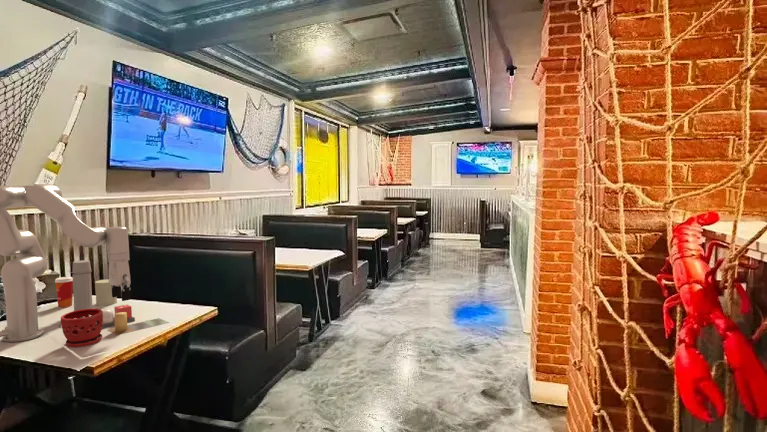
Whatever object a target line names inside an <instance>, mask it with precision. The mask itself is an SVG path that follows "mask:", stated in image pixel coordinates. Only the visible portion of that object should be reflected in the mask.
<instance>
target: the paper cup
mask: <svg viewBox="0 0 767 432" xmlns="http://www.w3.org/2000/svg"><path fill="white" fill-rule="evenodd" d="M54 283H55V291H56V299H57V306H58V308H69V307H71V306H73V298H74V297H73V276H62V277H57V278H55V280H54Z"/></svg>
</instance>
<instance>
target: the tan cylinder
mask: <svg viewBox="0 0 767 432" xmlns="http://www.w3.org/2000/svg"><path fill="white" fill-rule="evenodd" d="M113 315H114V321H115V325H114V328H115V332H123V331H126V330H127V325H128V323H127V313H126V312H120V313H116V314H115V313H113Z"/></svg>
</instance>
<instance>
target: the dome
mask: <svg viewBox="0 0 767 432" xmlns="http://www.w3.org/2000/svg"><path fill="white" fill-rule="evenodd" d="M102 313H103V324H106V323H111V322H114V312H113V311H112V310H110V309H106V308H105V309H103V310H102Z"/></svg>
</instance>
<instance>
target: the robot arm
mask: <svg viewBox="0 0 767 432" xmlns="http://www.w3.org/2000/svg"><path fill="white" fill-rule="evenodd" d="M20 207H35V208H36V209H38V210H39V211H40V212H42V213H43V214H45V215H46V216H47V217H49V218H50V219H52V220H53V221H54V222H55V223H57V225H58V227H59V229H60V230H61V231H62V232H63V233H64V234H65V236H67V237H68V238H70V239H71V240H72V241H74V242H75V243H76V244H79V245H80V246H82V247H84V248H95V247H98V246H102V245H106V247H107V251H106V252H107V262H108V279H109V283H110V284H111V287H112V297H121V301H122V302H125V301H130V300H131V299H132V297H131V294H132V293H131V273H130V265H129V261H130V246H129V244H130V243H129V231H128V230H129V229H128V228H127V227H125V226H111V227H110V226H109V227H108V226H94V227H90V226H89V225H87V224H85V223H84V222H83V221H81V220H80V219H79V218H78V217H77V215H76V212H75V211H76V207H75V205H73V204H72V203H71V202H69V201H67V199H65V198H63V194H62V191H61V189H60V188H59V187H58V186H56V185H55V184H54V185H53V184H49V183H48V184H46V183H39V184H32V185H0V256H1V257H2V256H4V257H11V256H15V257H16V258H13V259H10V260H9V261H7V262H5V263H4V265H3V266H1V269H0V277H1V280H2V284H3V288H4V298H5V314H6V315H5V316H6V326H5V327H4V329H2V330H1V331H0V338H1V339H2V341H3V342H6V343H17V342H25V341H30V340H32V339H33V340H34V339H36V338H38V337H41V336H42V335H43V334H44V330H43V329H40V328H39V318H38V316H39V315H38V298H37V297H38V296H37V289H36V284H35V283H34V280H33V279H34V278H37V277H40V276H41V275H43V274H44V273H45V272H46V271H47V268H48V263H47V259H46V257H45V254H44V251H43V249H42V247H41V244H40V242H39V240H38V238H37V237H36V235H35V234H34V233H33V232H31V231H29V230H27V229H26V230H25V229H18V227H17V224H16V222H15V219H14V217H13V216H12V215H11V213H9V212H8V210H7V209H8V208H20Z"/></svg>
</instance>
